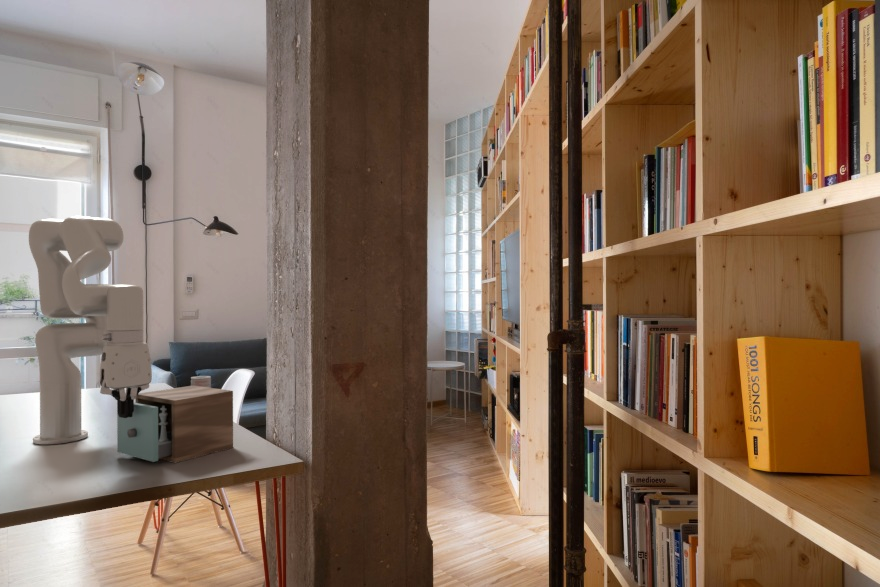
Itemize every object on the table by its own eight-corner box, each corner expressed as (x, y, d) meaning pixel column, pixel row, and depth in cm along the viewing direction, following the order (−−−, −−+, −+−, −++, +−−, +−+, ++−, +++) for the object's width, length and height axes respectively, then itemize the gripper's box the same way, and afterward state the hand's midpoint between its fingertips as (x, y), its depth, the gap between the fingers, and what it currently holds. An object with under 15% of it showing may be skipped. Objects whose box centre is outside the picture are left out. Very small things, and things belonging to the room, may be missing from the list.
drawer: (112, 453, 139) (112, 401, 139) (175, 438, 152) (175, 392, 152) (148, 463, 130) (147, 408, 130) (211, 447, 144) (211, 397, 144)
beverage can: (215, 426, 173) (215, 376, 173) (198, 429, 168) (198, 378, 168) (203, 423, 176) (203, 374, 176) (187, 427, 171) (186, 377, 171)
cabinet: (135, 452, 144) (135, 393, 144) (193, 438, 158) (193, 385, 158) (174, 462, 135) (174, 400, 135) (233, 447, 148) (232, 390, 148)
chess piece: (162, 449, 138) (162, 408, 138) (147, 447, 140) (147, 406, 141) (179, 445, 143) (179, 404, 143) (165, 443, 145) (164, 403, 145)
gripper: (99, 340, 126) (99, 425, 126) (165, 336, 138) (165, 413, 138) (83, 339, 130) (83, 421, 130) (148, 335, 142) (148, 409, 142)
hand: (125, 416), depth 134 cm, fingers closed
